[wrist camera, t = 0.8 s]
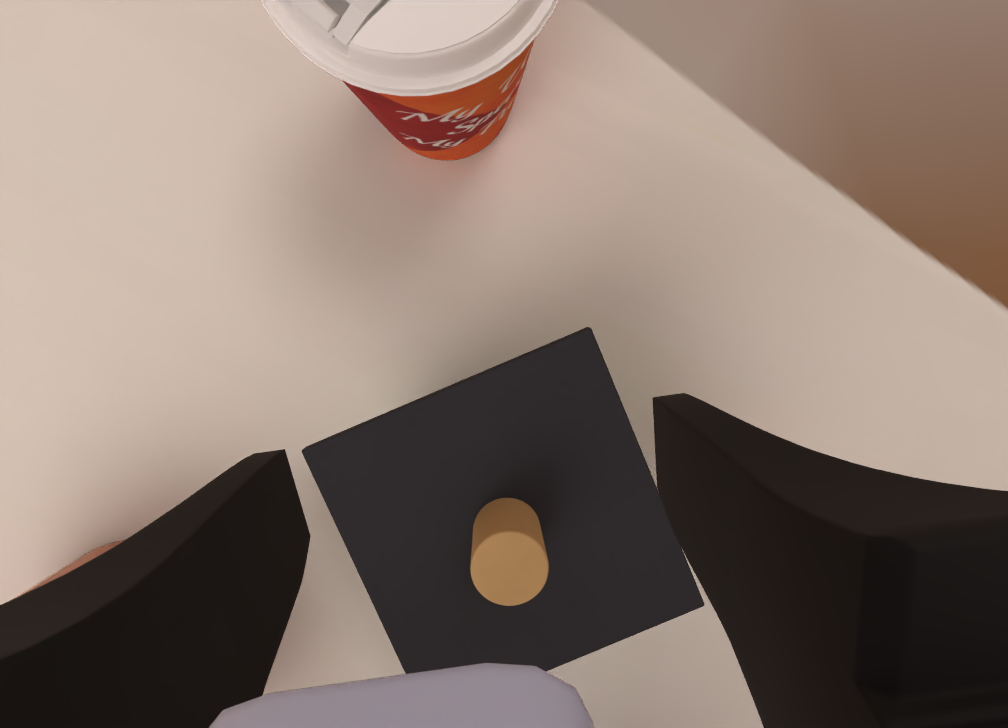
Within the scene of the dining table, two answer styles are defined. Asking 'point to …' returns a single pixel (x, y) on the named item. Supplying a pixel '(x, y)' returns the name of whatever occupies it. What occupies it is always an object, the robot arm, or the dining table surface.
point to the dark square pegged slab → (507, 516)
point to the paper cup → (422, 61)
